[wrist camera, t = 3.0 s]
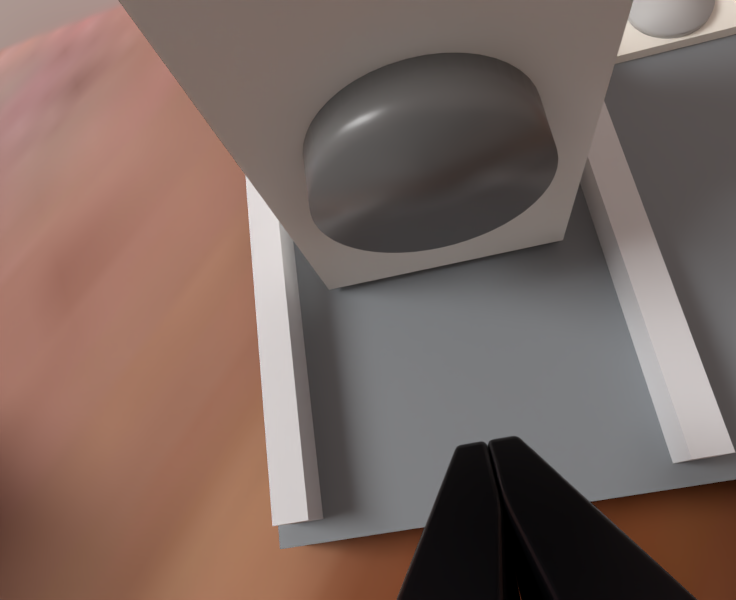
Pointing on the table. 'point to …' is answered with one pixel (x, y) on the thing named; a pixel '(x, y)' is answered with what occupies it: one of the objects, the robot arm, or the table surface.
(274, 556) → the table surface
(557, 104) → the toggle
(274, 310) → the switch board
